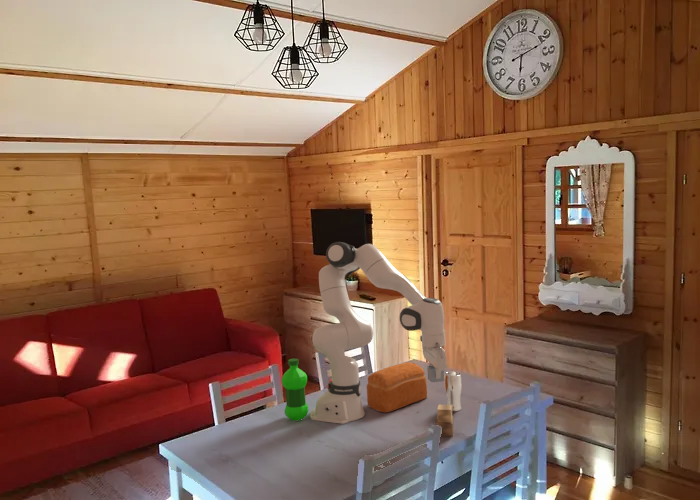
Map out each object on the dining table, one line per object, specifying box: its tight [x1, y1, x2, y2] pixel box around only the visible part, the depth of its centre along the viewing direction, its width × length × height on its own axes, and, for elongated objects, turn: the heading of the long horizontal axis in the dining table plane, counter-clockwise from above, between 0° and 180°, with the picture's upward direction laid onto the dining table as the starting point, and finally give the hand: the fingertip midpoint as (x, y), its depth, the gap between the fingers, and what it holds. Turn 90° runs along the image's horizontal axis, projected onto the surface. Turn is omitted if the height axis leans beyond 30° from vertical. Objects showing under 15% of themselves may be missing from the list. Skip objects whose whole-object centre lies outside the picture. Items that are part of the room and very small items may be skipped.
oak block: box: [436, 404, 453, 423], centre depth 223 cm, size 5×5×5 cm
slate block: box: [426, 365, 445, 383], centre depth 229 cm, size 5×5×5 cm
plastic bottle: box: [281, 358, 309, 422], centre depth 243 cm, size 10×10×25 cm
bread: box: [366, 362, 428, 413], centre depth 257 cm, size 14×26×16 cm, turn 128°
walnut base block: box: [435, 416, 455, 437], centre depth 224 cm, size 6×6×5 cm
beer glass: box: [444, 370, 463, 412], centre depth 246 cm, size 7×7×15 cm
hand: (435, 375), depth 229 cm, fingers closed on slate block, 5 cm apart
